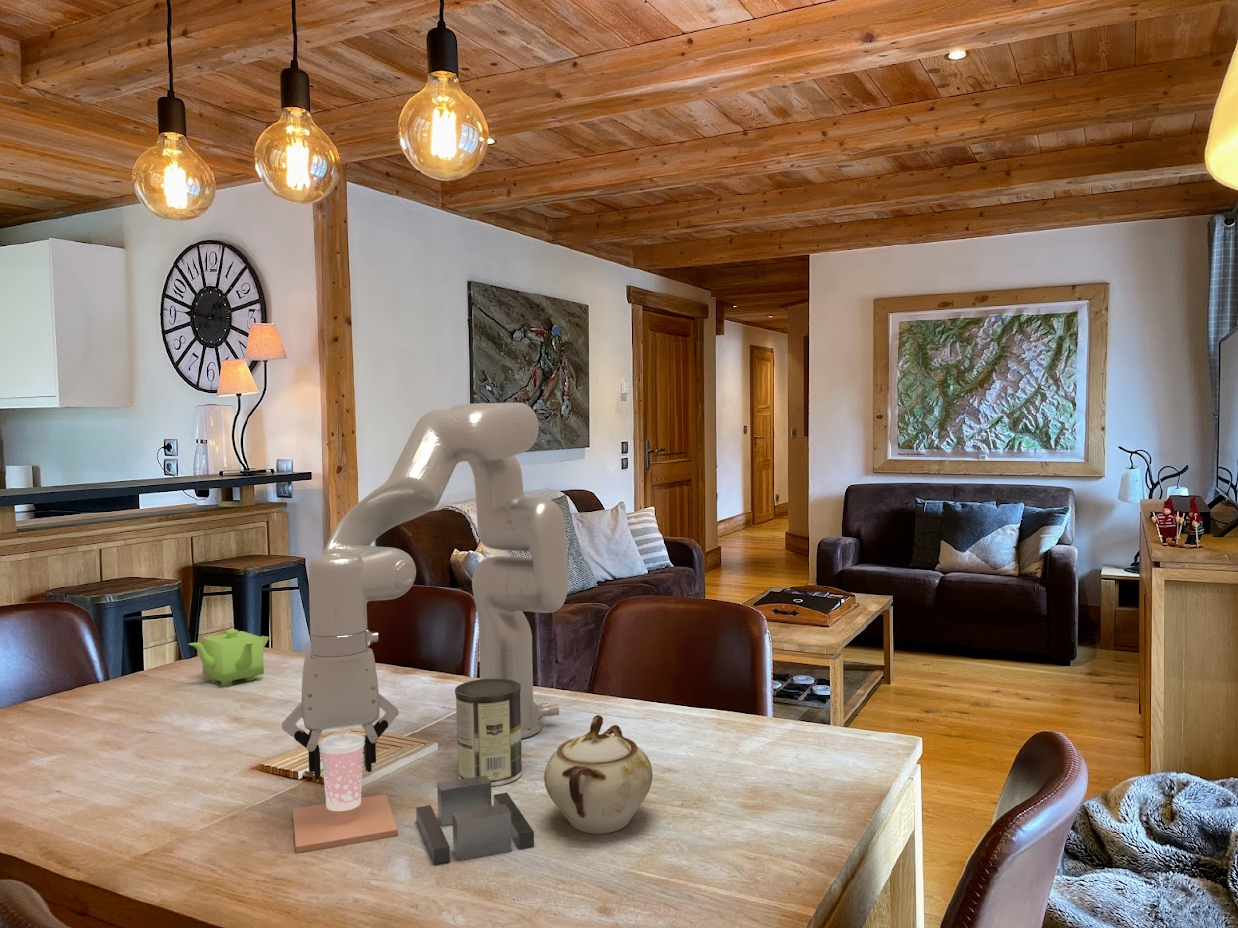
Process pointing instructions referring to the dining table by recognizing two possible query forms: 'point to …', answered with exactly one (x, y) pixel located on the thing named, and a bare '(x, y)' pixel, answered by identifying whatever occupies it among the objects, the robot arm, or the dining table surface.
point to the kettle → (232, 656)
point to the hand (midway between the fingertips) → (342, 771)
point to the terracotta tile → (343, 824)
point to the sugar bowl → (598, 779)
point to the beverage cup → (342, 770)
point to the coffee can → (489, 730)
